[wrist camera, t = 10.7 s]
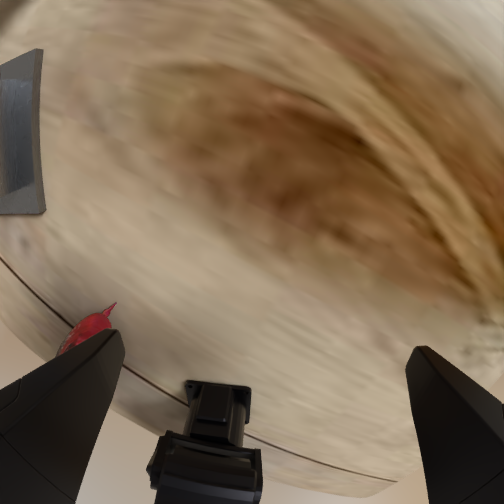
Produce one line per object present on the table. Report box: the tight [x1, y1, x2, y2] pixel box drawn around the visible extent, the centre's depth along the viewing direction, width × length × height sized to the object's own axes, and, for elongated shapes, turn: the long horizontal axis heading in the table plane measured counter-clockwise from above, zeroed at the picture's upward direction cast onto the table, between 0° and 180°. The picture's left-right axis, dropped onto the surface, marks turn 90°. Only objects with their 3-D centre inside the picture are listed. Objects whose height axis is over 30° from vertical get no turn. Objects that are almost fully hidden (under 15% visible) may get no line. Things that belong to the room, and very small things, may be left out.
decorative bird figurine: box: [55, 302, 117, 357], centre depth 21 cm, size 3×18×10 cm, turn 132°
